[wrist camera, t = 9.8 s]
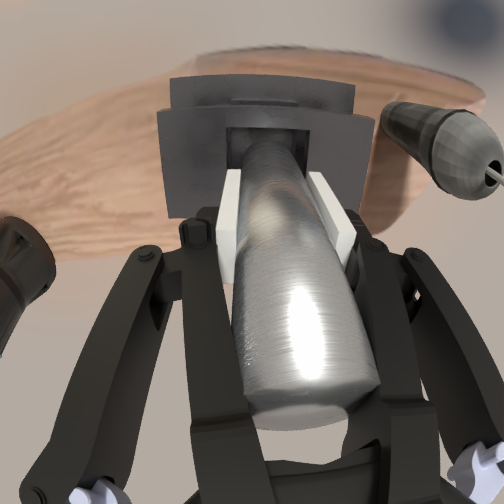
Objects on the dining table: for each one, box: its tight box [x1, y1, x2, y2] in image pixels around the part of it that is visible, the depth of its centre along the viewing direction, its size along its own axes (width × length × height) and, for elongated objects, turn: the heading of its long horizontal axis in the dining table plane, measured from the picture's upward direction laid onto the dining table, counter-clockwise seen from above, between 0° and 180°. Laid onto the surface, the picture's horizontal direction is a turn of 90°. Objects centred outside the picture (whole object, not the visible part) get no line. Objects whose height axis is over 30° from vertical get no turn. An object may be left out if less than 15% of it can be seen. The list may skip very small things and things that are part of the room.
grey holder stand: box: [157, 74, 375, 218], centre depth 23 cm, size 18×14×8 cm
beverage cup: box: [380, 102, 504, 200], centre depth 16 cm, size 7×7×20 cm
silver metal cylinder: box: [231, 139, 381, 431], centre depth 13 cm, size 4×4×18 cm
